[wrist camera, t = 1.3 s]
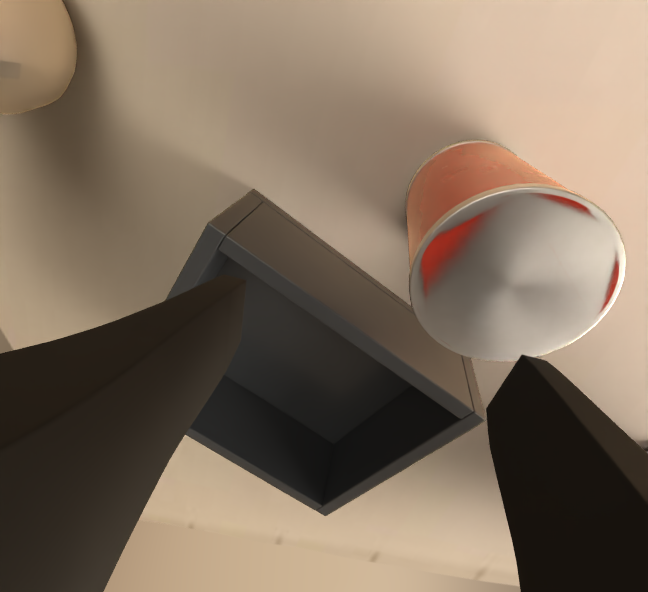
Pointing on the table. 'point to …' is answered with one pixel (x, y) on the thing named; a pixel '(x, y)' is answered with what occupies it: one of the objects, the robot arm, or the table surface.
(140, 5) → the table surface
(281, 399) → the drawer
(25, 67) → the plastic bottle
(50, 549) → the robot arm
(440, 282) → the tin can
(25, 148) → the table surface
